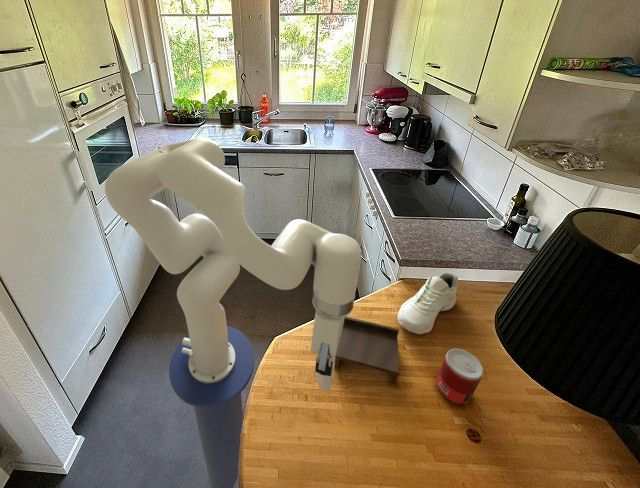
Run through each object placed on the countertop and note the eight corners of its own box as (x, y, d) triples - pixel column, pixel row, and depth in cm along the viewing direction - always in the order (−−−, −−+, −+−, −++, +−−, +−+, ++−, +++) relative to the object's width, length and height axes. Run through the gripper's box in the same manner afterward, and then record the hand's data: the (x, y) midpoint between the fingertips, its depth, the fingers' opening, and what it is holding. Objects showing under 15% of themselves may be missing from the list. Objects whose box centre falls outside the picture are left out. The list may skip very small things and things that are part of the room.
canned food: (469, 411, 78) (483, 385, 73) (434, 394, 82) (444, 368, 76) (470, 384, 84) (483, 357, 79) (437, 369, 87) (447, 343, 82)
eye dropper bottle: (337, 371, 72) (342, 335, 66) (329, 394, 68) (334, 358, 62) (318, 363, 74) (322, 327, 68) (309, 385, 69) (313, 349, 64)
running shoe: (385, 324, 100) (393, 292, 94) (428, 283, 116) (437, 253, 109) (417, 348, 93) (428, 315, 87) (458, 300, 109) (470, 270, 102)
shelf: (333, 367, 88) (336, 350, 85) (339, 331, 98) (341, 315, 95) (395, 384, 84) (400, 368, 81) (394, 345, 94) (398, 328, 91)
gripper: (322, 262, 67) (316, 321, 76) (302, 328, 53) (298, 392, 62) (358, 270, 65) (349, 330, 74) (348, 341, 51) (337, 406, 59)
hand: (326, 358), depth 68 cm, fingers closed on eye dropper bottle, 5 cm apart
